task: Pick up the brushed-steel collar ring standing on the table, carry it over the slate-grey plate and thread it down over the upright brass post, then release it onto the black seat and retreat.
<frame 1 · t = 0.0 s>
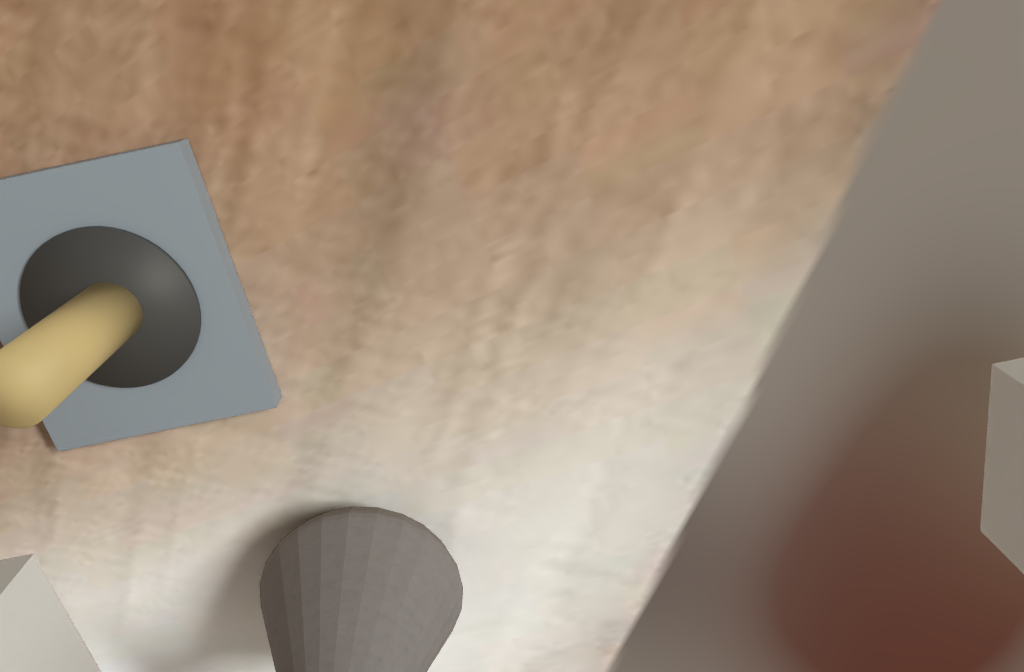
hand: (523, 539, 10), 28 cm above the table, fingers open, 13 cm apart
coffee pot: (287, 548, 45), on the table
post: (123, 300, 38), on the table
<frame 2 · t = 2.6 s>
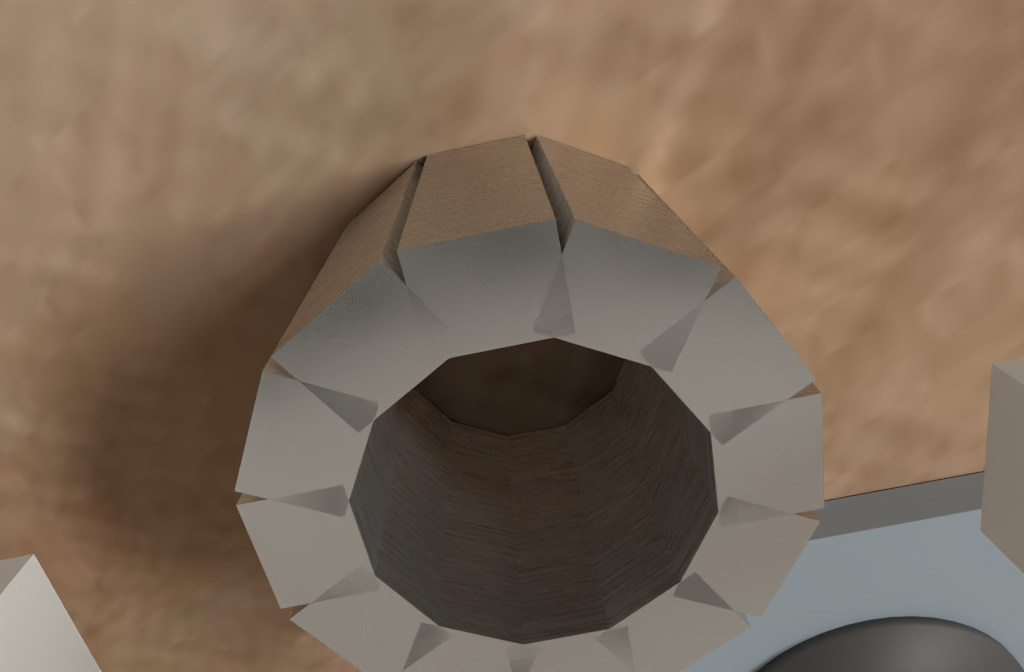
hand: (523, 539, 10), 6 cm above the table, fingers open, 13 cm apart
ring: (515, 332, 16), on the table
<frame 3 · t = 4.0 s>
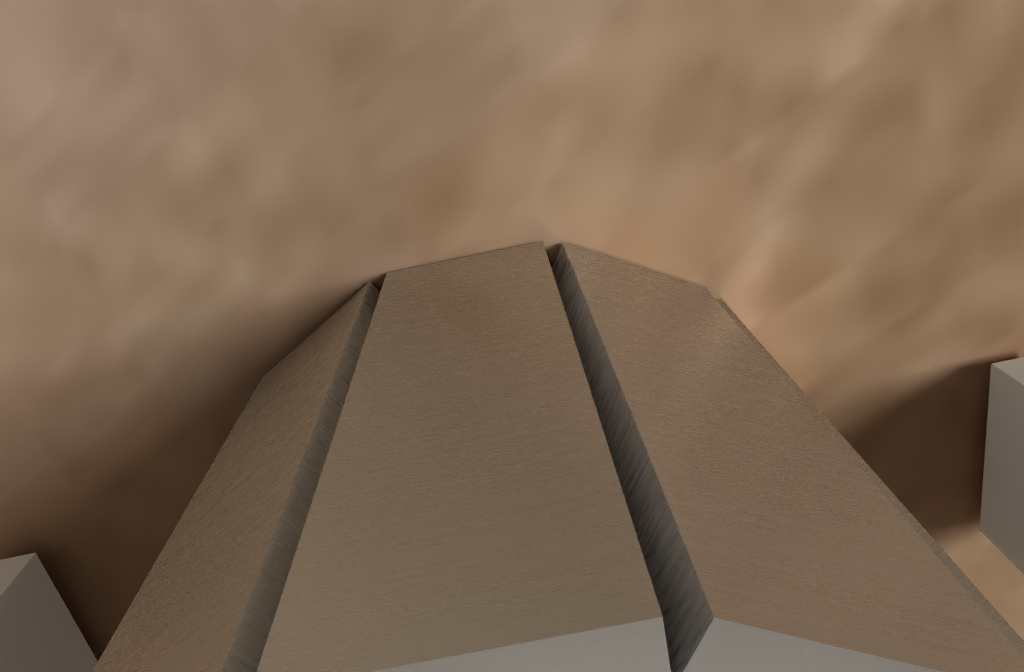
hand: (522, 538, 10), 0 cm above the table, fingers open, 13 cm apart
ring: (526, 524, 10), on the table
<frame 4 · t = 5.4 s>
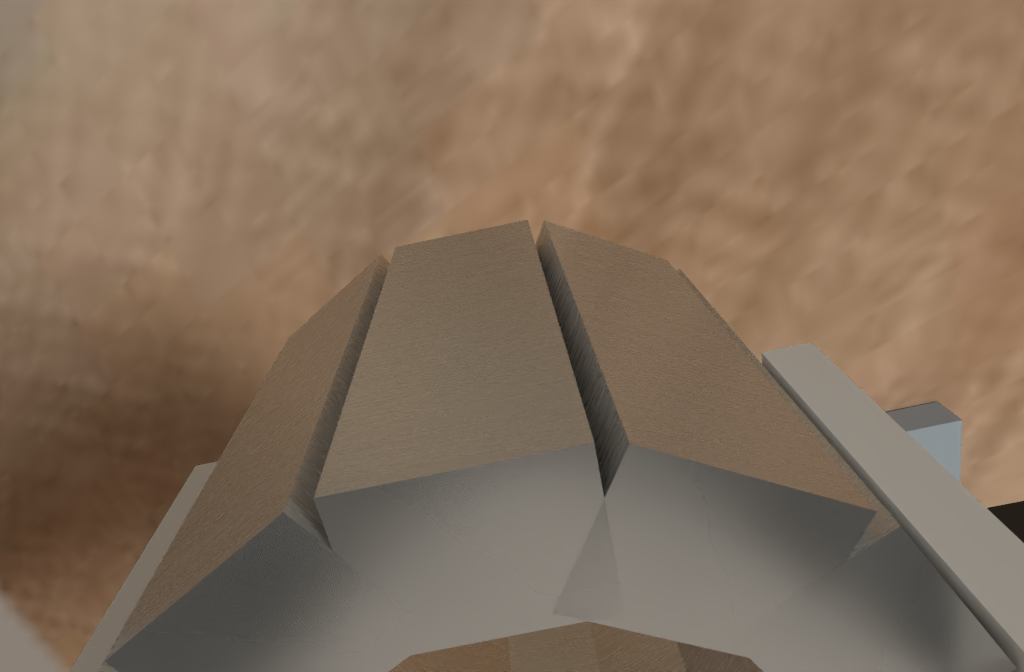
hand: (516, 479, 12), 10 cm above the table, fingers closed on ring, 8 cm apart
ring: (515, 469, 12), point 9 cm above the table, touching gripper
post: (761, 615, 25), on the table
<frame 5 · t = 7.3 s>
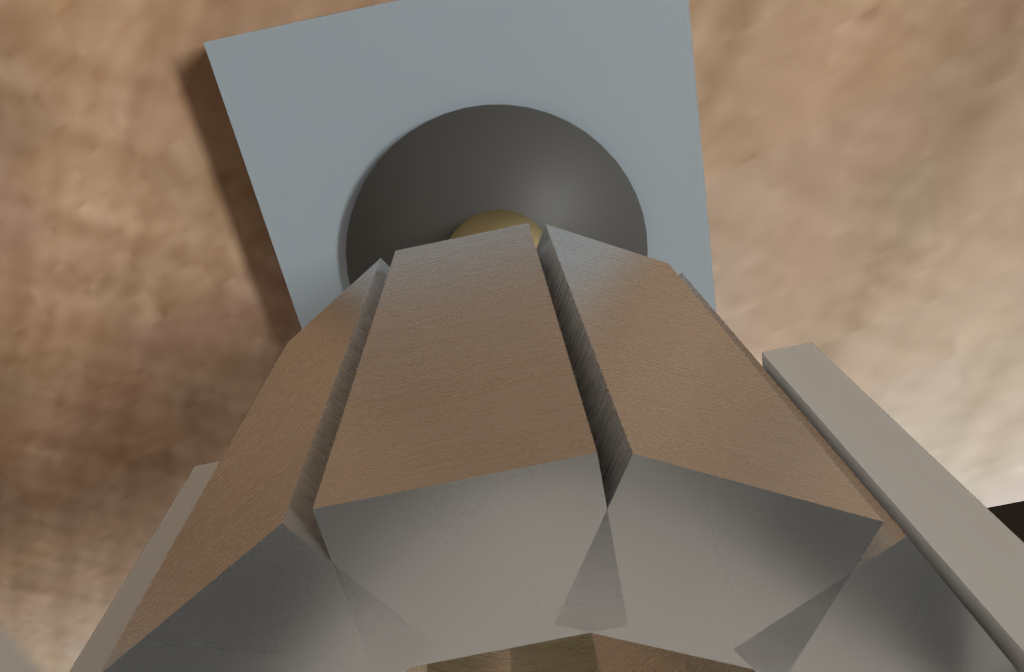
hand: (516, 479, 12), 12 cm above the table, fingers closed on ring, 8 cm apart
ring: (516, 473, 12), point 11 cm above the table, touching gripper
post: (496, 246, 22), on the table
when the fingers open (4 cm above the table, at t = 9.5 s): ring drops 2 cm, resting on post.
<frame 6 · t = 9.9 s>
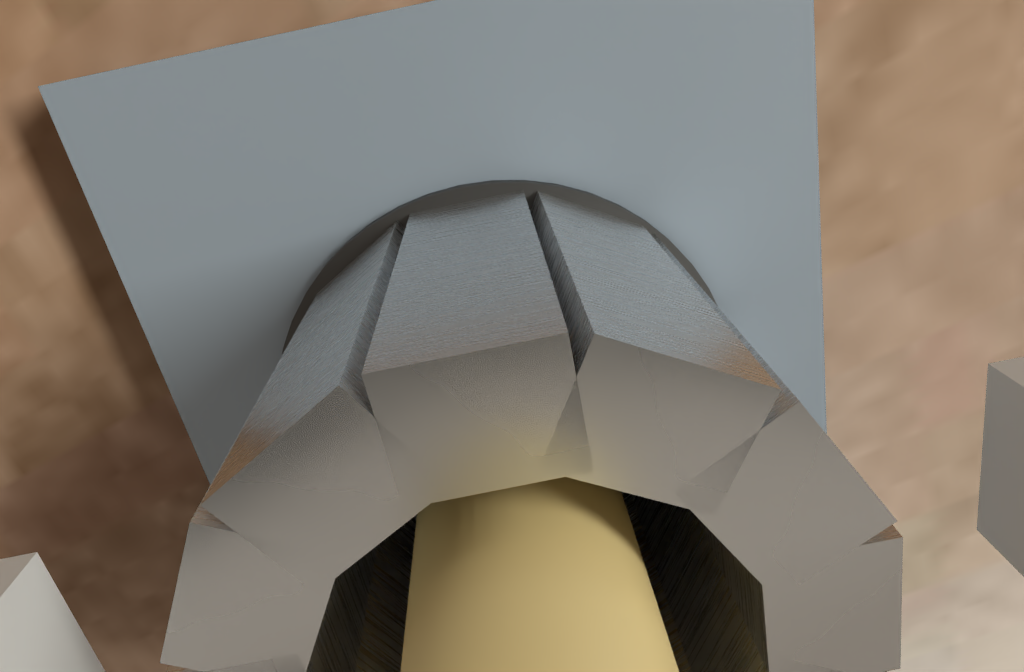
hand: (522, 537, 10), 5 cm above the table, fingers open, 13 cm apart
ring: (513, 411, 14), point 1 cm above the table, touching post
post: (505, 374, 15), on the table
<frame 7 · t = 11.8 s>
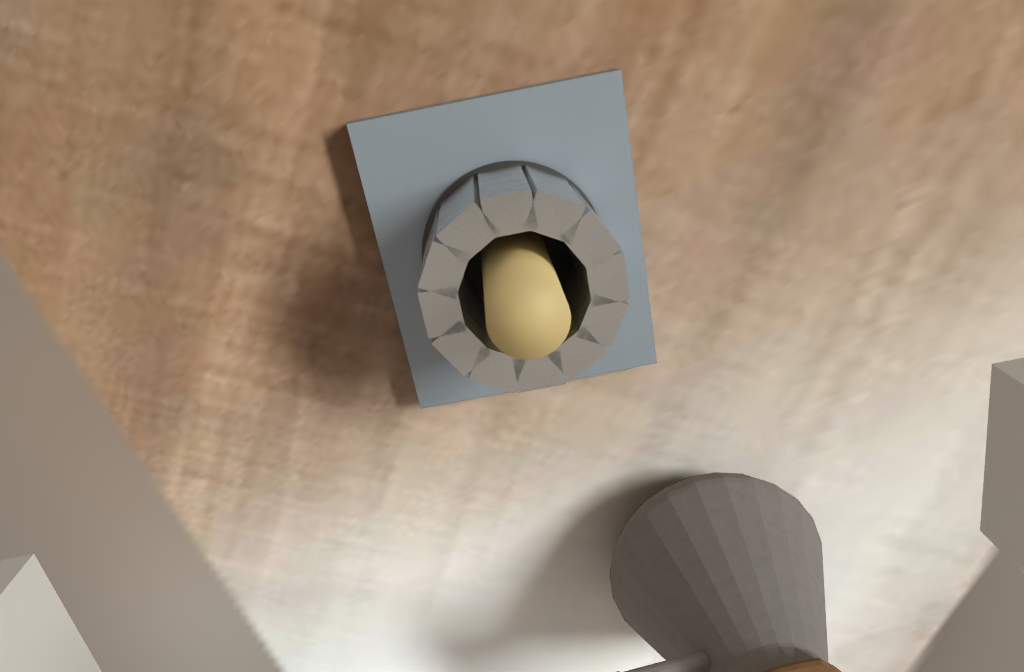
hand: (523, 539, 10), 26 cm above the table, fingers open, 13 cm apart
coffee pot: (617, 520, 42), on the table
ring: (515, 254, 34), point 1 cm above the table, touching post
post: (511, 245, 35), on the table
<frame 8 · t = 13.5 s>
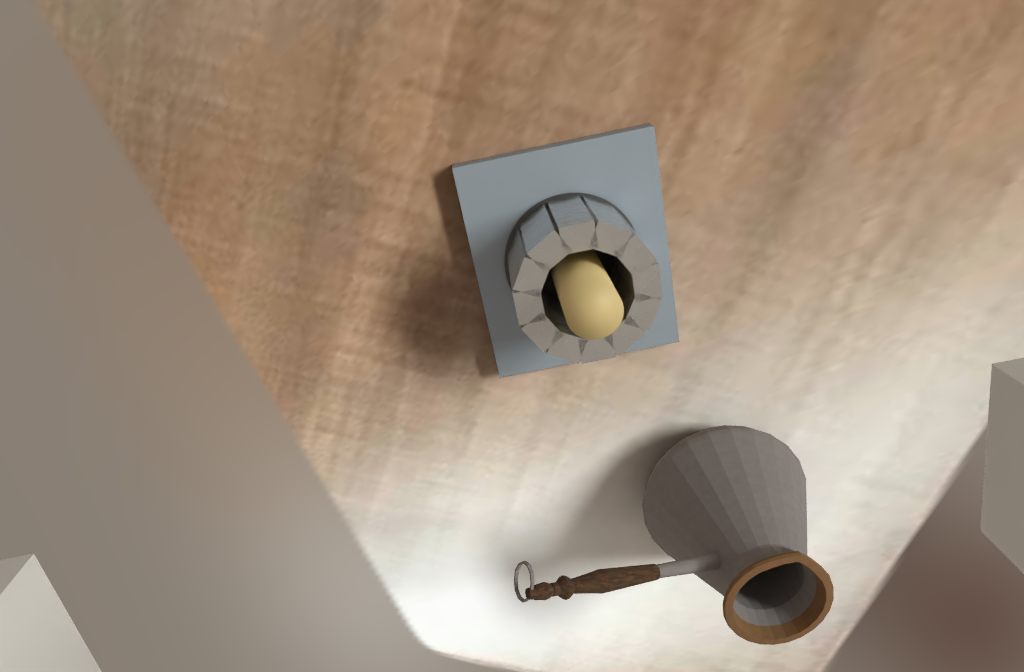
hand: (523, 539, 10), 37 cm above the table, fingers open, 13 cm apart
coffee pot: (647, 465, 54), on the table
ring: (573, 261, 46), point 1 cm above the table, touching post
post: (569, 254, 47), on the table
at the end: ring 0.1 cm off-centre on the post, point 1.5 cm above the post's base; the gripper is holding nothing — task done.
